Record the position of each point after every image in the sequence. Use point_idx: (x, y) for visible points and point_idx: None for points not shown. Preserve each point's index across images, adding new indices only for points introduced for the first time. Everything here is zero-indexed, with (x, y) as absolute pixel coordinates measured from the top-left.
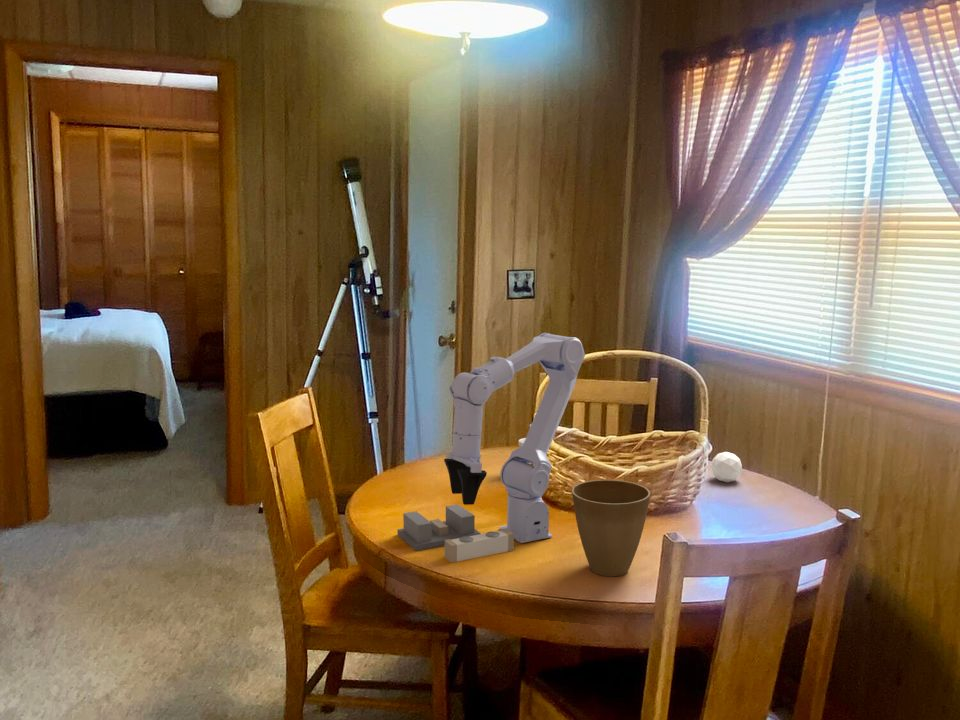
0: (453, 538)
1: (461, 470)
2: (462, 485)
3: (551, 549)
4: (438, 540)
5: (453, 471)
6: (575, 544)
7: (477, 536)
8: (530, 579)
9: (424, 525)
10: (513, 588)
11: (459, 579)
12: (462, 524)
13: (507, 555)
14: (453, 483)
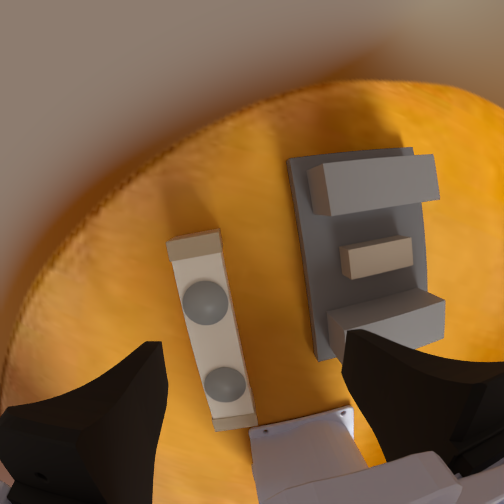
0: (308, 281)
1: (42, 457)
2: (96, 386)
3: (202, 464)
4: (306, 233)
5: (414, 395)
6: (217, 496)
7: (225, 343)
8: (60, 376)
9: (325, 187)
10: (26, 328)
11: (76, 229)
12: (336, 323)
13: (188, 385)
14: (372, 357)
